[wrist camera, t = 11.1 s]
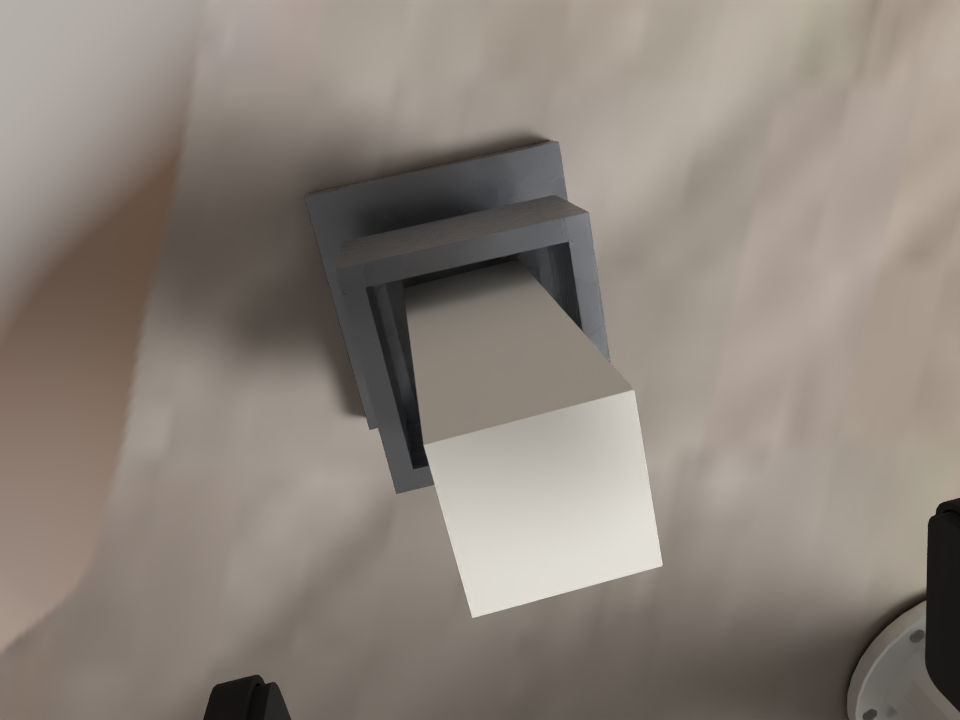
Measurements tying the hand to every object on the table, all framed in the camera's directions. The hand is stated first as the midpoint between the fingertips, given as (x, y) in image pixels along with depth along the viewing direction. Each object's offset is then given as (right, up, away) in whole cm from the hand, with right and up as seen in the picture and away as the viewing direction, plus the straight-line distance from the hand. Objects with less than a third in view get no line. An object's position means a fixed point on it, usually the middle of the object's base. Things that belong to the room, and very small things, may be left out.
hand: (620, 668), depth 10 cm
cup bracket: (-3, +7, +21) cm, 22 cm away
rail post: (-2, +5, +15) cm, 16 cm away
